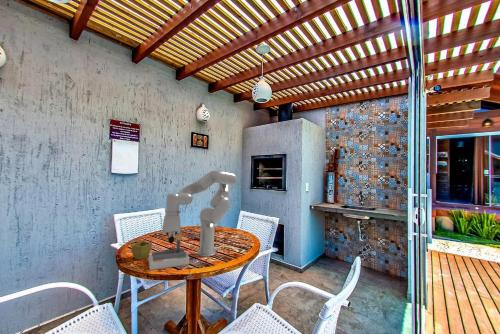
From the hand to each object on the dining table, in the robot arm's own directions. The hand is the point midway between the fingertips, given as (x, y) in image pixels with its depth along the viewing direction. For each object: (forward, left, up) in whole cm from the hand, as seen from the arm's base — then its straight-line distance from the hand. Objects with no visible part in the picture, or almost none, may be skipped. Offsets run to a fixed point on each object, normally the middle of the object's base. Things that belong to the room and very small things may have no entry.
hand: (171, 243), depth 136 cm
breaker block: (+1, 0, -12) cm, 12 cm away
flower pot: (+16, -15, -12) cm, 25 cm away
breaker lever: (-4, 0, -8) cm, 9 cm away
